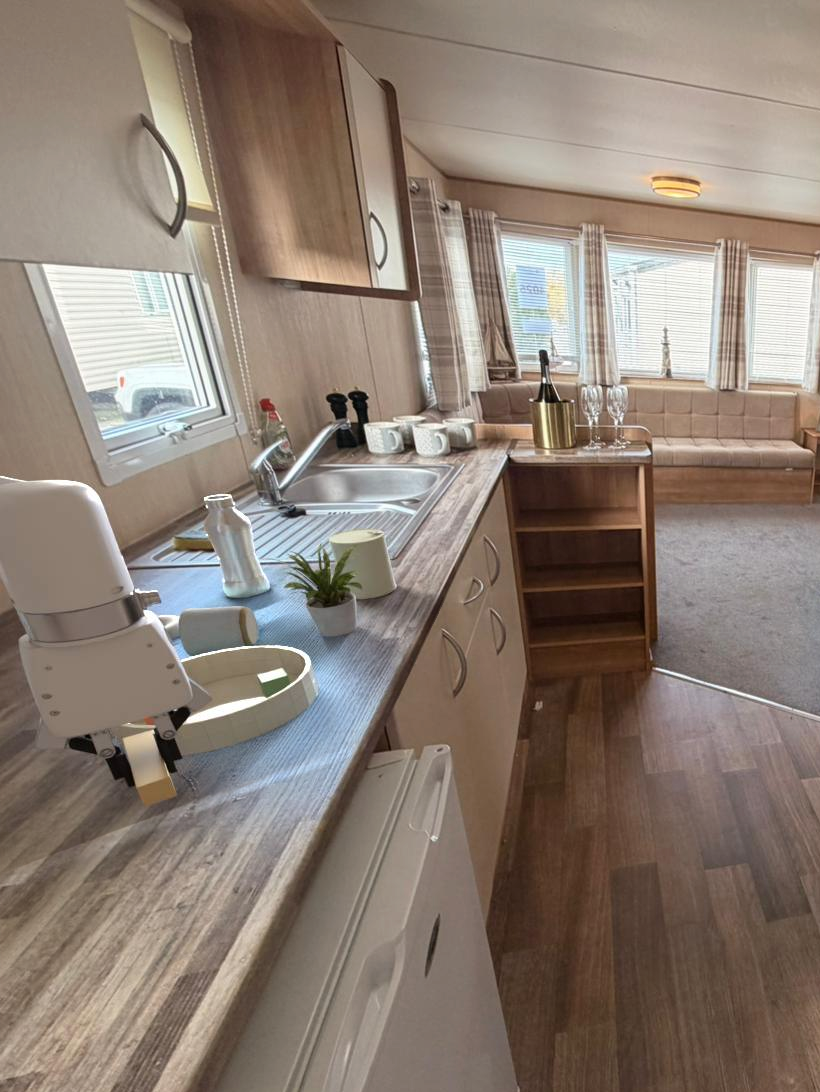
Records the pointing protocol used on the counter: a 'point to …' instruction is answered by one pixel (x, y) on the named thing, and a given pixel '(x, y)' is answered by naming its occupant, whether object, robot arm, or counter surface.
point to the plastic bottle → (234, 548)
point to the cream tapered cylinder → (365, 561)
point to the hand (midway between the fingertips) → (151, 772)
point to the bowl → (238, 697)
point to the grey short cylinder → (217, 629)
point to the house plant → (328, 594)
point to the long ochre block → (148, 769)
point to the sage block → (273, 681)
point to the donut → (170, 625)
